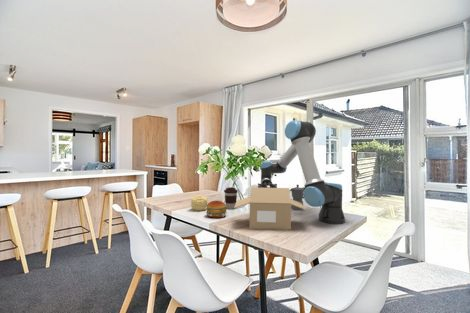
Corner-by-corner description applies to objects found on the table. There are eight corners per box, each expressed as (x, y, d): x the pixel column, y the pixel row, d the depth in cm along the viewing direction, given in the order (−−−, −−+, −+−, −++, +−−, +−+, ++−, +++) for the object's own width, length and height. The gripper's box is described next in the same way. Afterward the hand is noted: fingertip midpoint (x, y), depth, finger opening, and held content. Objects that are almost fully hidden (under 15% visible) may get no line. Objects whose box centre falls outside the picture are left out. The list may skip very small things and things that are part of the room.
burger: (201, 216, 153) (201, 200, 153) (216, 212, 163) (216, 198, 163) (216, 220, 144) (216, 203, 144) (231, 215, 154) (231, 200, 154)
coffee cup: (235, 210, 170) (236, 189, 170) (222, 209, 172) (222, 188, 172) (238, 207, 180) (238, 187, 180) (225, 206, 182) (225, 186, 182)
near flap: (289, 188, 131) (289, 188, 130) (290, 203, 126) (290, 203, 125) (250, 187, 132) (250, 187, 132) (250, 202, 127) (250, 202, 127)
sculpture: (191, 212, 163) (191, 196, 163) (190, 208, 174) (190, 193, 174) (208, 211, 165) (208, 196, 165) (206, 207, 177) (206, 193, 177)
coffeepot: (295, 211, 168) (295, 186, 167) (286, 208, 176) (286, 184, 176) (310, 209, 175) (311, 184, 175) (301, 206, 183) (301, 183, 183)
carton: (298, 217, 152) (298, 195, 152) (307, 230, 125) (307, 204, 125) (237, 215, 155) (237, 193, 155) (233, 228, 128) (233, 202, 128)
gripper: (276, 189, 164) (279, 195, 141) (257, 189, 165) (257, 195, 142) (276, 178, 164) (279, 183, 141) (257, 178, 165) (257, 182, 142)
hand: (268, 189), depth 141 cm, fingers closed
